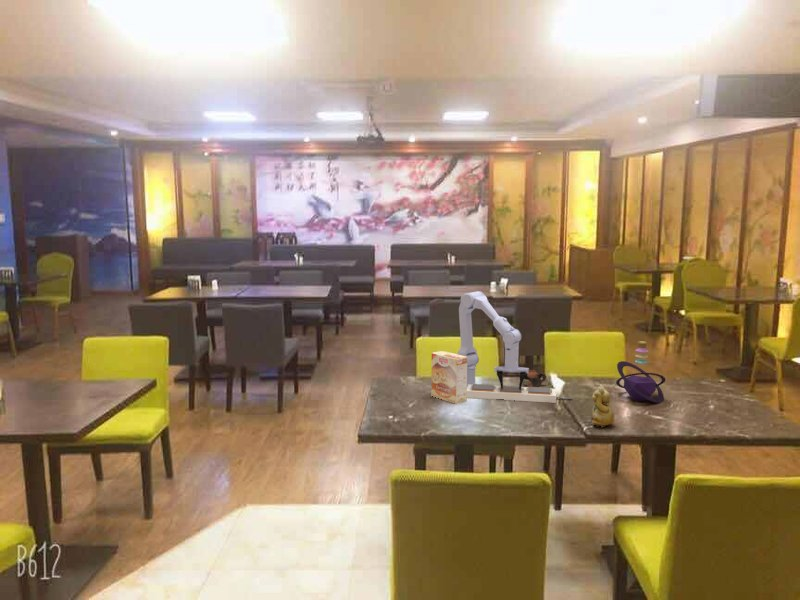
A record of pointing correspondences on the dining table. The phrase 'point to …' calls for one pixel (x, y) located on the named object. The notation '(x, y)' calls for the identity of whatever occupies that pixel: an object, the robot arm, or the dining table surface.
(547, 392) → the right button
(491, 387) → the left button
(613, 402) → the dining table surface
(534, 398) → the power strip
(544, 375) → the brown grey irregular piece
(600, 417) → the decorative figurine
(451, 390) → the coffeecake box
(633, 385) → the decorative bottle
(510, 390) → the middle button
